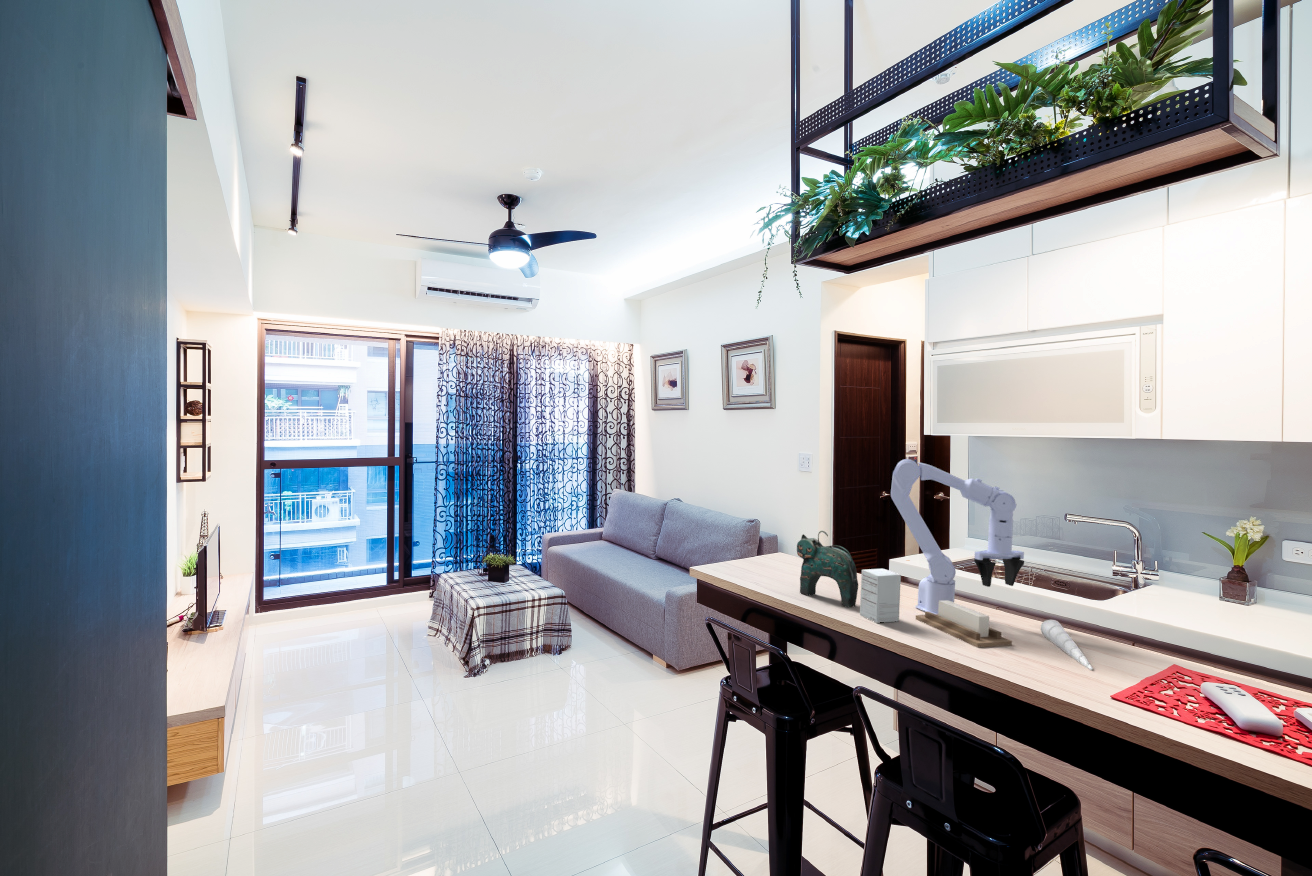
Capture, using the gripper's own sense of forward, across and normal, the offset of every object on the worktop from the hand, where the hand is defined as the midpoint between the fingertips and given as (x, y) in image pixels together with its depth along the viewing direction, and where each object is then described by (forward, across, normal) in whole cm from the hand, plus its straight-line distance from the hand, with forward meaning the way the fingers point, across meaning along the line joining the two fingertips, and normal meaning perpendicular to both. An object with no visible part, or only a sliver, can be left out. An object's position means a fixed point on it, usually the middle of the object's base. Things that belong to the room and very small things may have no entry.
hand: (997, 585), depth 174 cm
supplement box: (+10, -33, +6) cm, 35 cm away
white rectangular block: (+8, -17, -7) cm, 21 cm away
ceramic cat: (+10, -37, +25) cm, 46 cm away
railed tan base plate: (+9, -17, -7) cm, 21 cm away
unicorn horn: (+10, -1, -24) cm, 26 cm away
